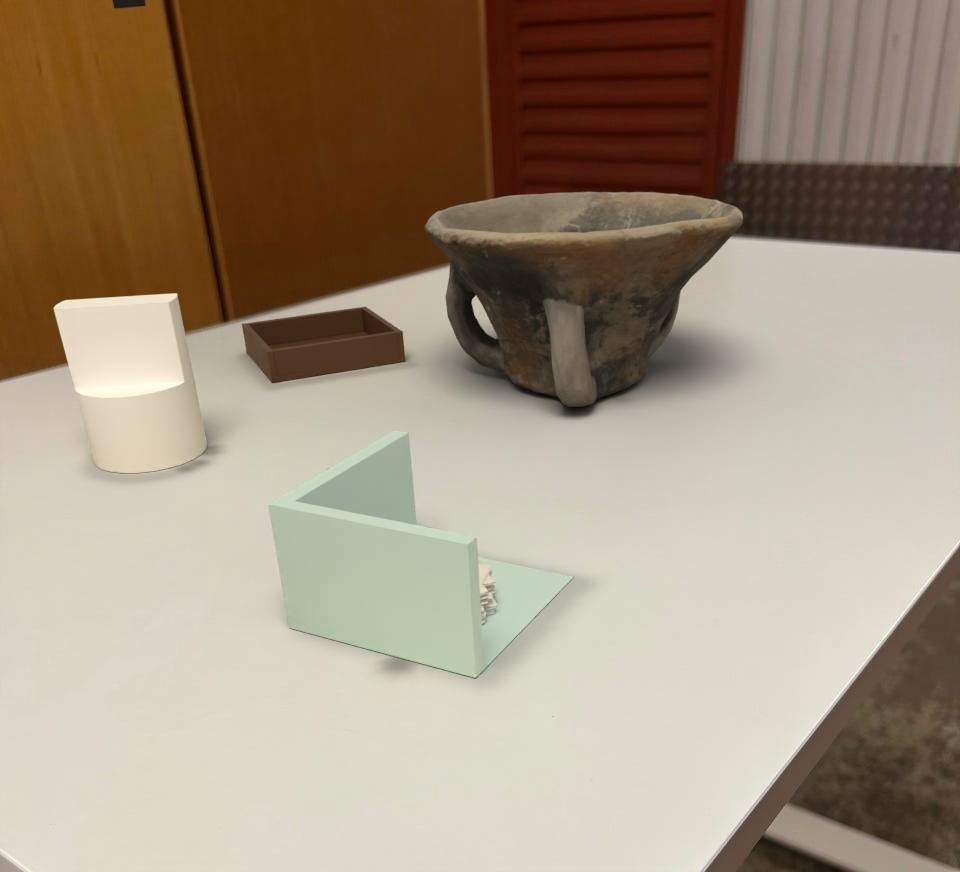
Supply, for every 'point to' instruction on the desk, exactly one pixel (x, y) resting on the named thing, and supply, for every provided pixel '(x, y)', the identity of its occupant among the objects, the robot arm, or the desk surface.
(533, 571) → the l-shaped corner panel
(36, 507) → the desk surface
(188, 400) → the base with upright slab
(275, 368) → the tray
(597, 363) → the bowl
